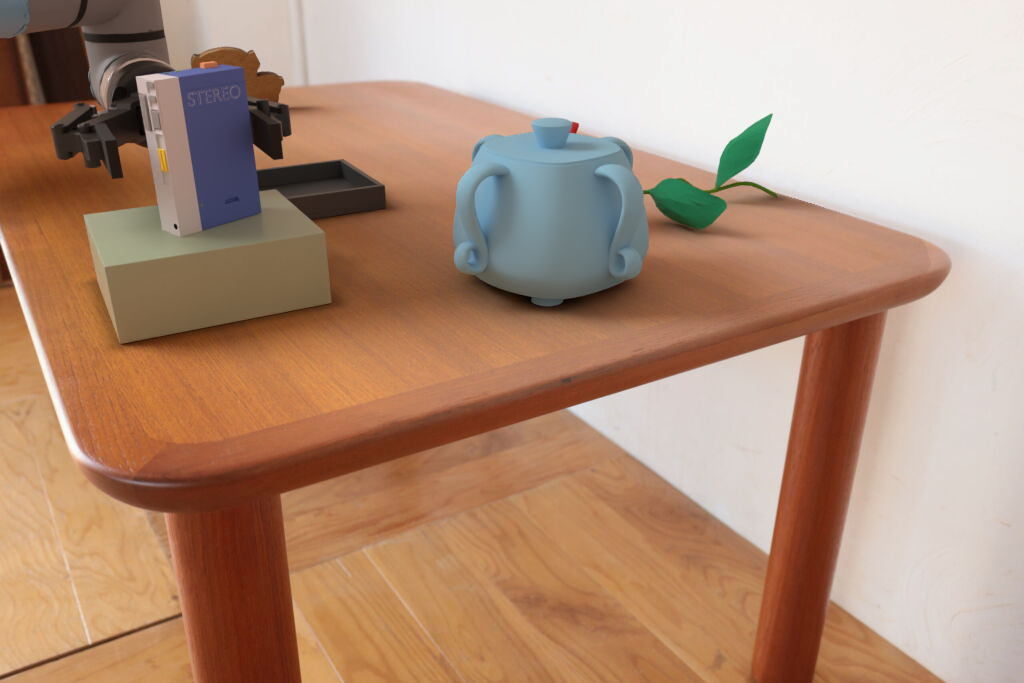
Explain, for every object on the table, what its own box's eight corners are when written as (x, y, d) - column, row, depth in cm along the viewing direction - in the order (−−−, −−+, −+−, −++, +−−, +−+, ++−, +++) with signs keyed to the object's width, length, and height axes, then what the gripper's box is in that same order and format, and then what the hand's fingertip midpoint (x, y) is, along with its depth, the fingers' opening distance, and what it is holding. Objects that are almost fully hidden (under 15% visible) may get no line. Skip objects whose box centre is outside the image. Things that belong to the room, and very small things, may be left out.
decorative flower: (833, 230, 89) (850, 132, 85) (547, 253, 83) (550, 148, 79) (766, 191, 102) (777, 104, 97) (512, 209, 95) (512, 116, 91)
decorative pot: (430, 309, 71) (423, 138, 65) (476, 243, 85) (473, 97, 79) (637, 326, 68) (648, 148, 62) (649, 254, 82) (659, 104, 77)
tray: (232, 194, 100) (229, 172, 99) (345, 179, 106) (343, 158, 105) (263, 226, 90) (260, 202, 89) (386, 208, 96) (385, 185, 95)
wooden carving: (283, 104, 149) (276, 41, 144) (288, 109, 145) (282, 45, 141) (179, 112, 143) (169, 47, 138) (182, 118, 139) (171, 50, 135)
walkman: (240, 207, 75) (220, 59, 70) (262, 213, 74) (243, 62, 69) (158, 230, 70) (130, 71, 65) (179, 237, 68) (152, 75, 63)
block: (97, 282, 76) (83, 214, 74) (283, 252, 83) (275, 188, 81) (120, 344, 65) (104, 267, 62) (331, 303, 72) (325, 232, 70)
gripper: (278, 129, 90) (353, 180, 72) (18, 156, 79) (33, 223, 62) (269, 51, 86) (346, 85, 69) (-2, 68, 76) (7, 113, 59)
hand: (198, 150), depth 65 cm, fingers open, 11 cm apart
